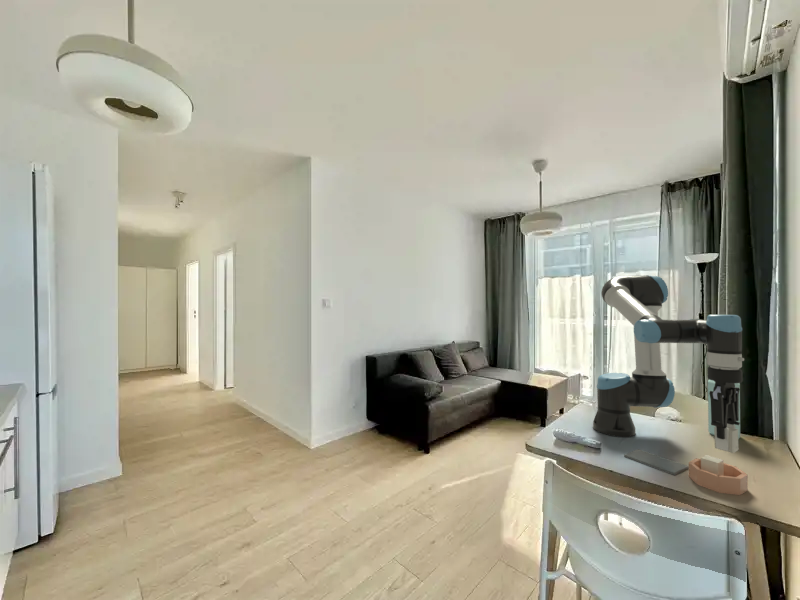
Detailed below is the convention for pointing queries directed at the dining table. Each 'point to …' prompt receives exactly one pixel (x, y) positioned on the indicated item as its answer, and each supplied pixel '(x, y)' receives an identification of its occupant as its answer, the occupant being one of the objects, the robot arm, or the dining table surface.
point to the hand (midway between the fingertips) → (725, 447)
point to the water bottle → (710, 388)
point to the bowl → (719, 478)
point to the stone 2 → (731, 439)
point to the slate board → (656, 462)
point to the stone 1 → (712, 465)
